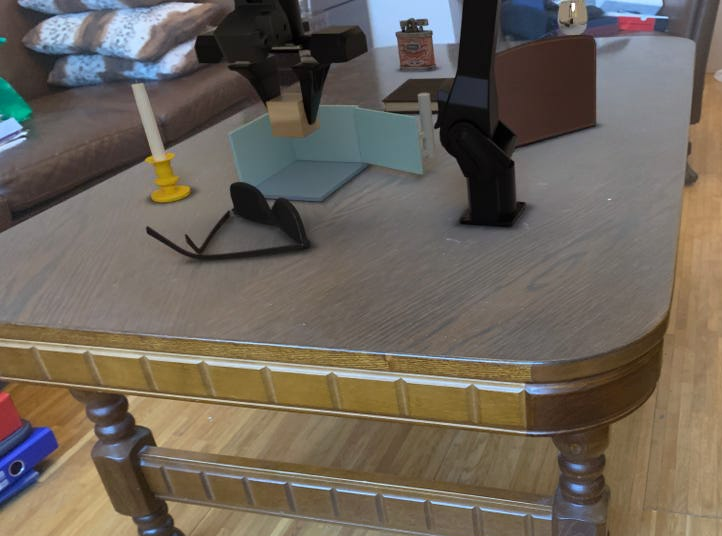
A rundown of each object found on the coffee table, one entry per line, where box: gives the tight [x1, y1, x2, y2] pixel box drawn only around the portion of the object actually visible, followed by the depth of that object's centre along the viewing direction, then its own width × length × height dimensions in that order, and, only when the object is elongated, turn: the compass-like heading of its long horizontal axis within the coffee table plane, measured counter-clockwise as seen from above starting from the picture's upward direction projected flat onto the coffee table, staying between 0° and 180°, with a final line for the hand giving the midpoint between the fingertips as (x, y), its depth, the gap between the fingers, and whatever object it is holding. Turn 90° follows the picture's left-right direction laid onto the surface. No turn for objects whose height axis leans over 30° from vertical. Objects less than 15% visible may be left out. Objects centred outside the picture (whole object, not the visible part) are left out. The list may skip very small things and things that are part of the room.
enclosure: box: [226, 104, 369, 203], centre depth 104 cm, size 14×12×9 cm
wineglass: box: [557, 0, 588, 36], centre depth 150 cm, size 6×6×12 cm
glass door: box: [353, 93, 437, 175], centre depth 104 cm, size 12×4×10 cm, turn 51°
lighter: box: [394, 17, 437, 72], centre depth 159 cm, size 8×3×10 cm, turn 73°
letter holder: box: [494, 34, 597, 149], centre depth 114 cm, size 10×20×14 cm, turn 123°
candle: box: [131, 79, 192, 204], centre depth 101 cm, size 5×5×16 cm
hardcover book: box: [381, 77, 455, 115], centre depth 137 cm, size 16×23×2 cm
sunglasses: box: [145, 181, 311, 261], centre depth 87 cm, size 17×14×5 cm
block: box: [266, 92, 320, 138], centre depth 88 cm, size 4×4×4 cm
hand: (295, 123), depth 88 cm, fingers closed on block, 4 cm apart
